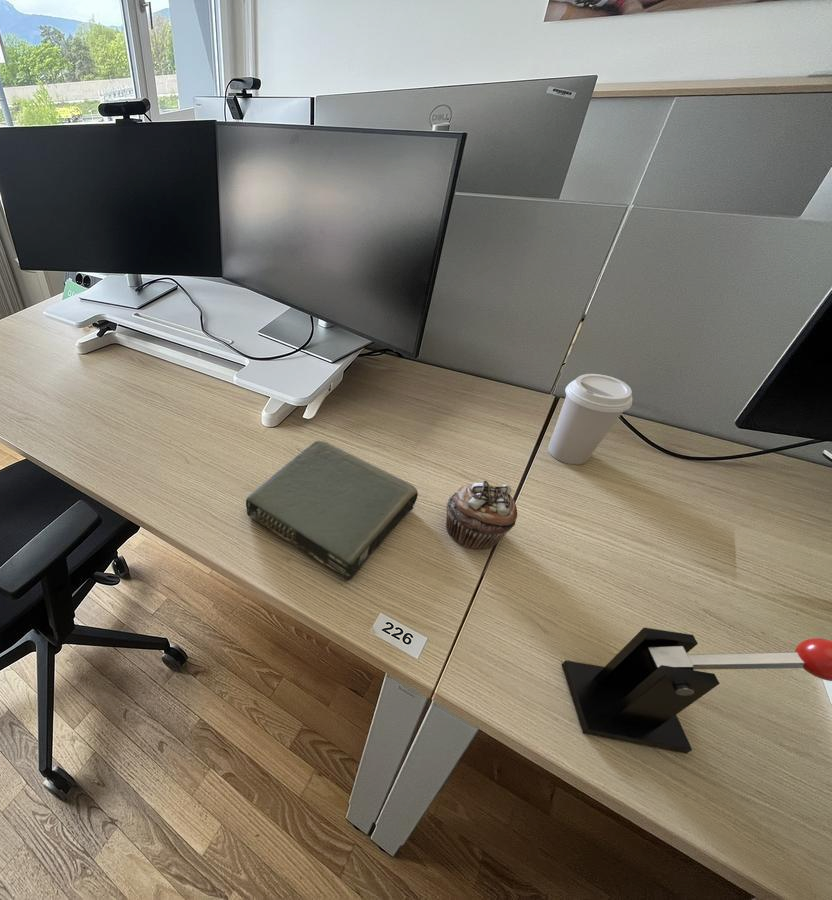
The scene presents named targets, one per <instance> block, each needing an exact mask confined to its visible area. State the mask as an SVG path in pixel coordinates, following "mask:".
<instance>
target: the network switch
mask: <svg viewBox="0 0 832 900" xmlns="http://www.w3.org/2000/svg"><path fill="white" fill-rule="evenodd" d="M418 495H419V494H418V490H417V488H416V487H415V486H414V484H412V483H410V482H408V481H406V480H404V479H402V478H400V477H398V476H396V475H394V474H392V473H390V472H388V471H386V470H384V469H382V468H380V467H378V466H376V465H375V464H373V463H370V462H368V461H366V460H364V459H362V458H361V457H358V456H356V455H354V454H353V453H350V452H347V451H345V450H344V449H341V448H340V447H337V446H335V445H334V444H331V443H330V442H327V441H325V440H316V441H314V442H313V443H311V444H310V445H309V446H308V447H306V448H304V449H303V450H302V451H301V452H300V453H298V455H296V456H294V458H293V459H291V460H290V461H288V462H287V463H286V464H285V465H283V466H282V467H281V468H280V469H279V470H278V471H276V472H275V473H274V474H273V475H272V476H270V477H269V478H268V479H267V480H266V481H264V482H263V483H262V484H261V485H260V486H259V487H257V488H256V489H255V490H254V491H253V492H252V493H250V494H249V495H248V496H247V497H246V499H245V507H246V515H247V516H248V517H249V518H252V519H253V520H254V521H256V522H257V523H259V524H260V525H261V526H264V527H265V528H267V529H269V530H270V531H271V532H273V533H274V534H276V535H277V536H279V537H280V538H281V539H283V540H285V541H287V542H289V544H293V545H294V546H295V547H297V548H298V549H299V550H301V551H303V553H306V554H307V555H308V556H309V557H311V558H313V559H315V560H316V561H318V562H319V563H321V565H324V566H326V567H328V568H329V569H331V570H332V571H334V572H336V574H337V573H338V574H339V575H341V576H342V577H344V579H345V581H349V580H351V579H352V578H353V577H354V576H355V575H356V574H357V573H358V571H359V570H360V569H361V568H362V566H363V565H364V563H366V561H367V560H368V559H369V557H370V556H371V555H372V553H374V551H375V550H376V549H377V548H378V547H379V546H380V545H381V544H382V543H383V541H384V540H385V539H386V537H388V535H389V534H390V533H391V532H392V531H393V530H394V529H395V528H396V526H398V524H399V523H400V522H401V521H402V520H403V518H404V517H406V515H407V514H408V512H411V511H413V510H414V505H415V504H416V502H417V499H418Z"/></svg>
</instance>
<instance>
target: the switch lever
mask: <svg viewBox="0 0 832 900" xmlns="http://www.w3.org/2000/svg"><path fill="white" fill-rule="evenodd" d="M648 656H649V661H650V663H651V665H652V667H653V669H654V671H655V670H656V669H657V668H659V667H660V666H661V665H665V666H671V667H677V668H683V669H689V670H695V671H701V670H766V669H767V670H768V669H769V670H772V669H776V670H779V669H803V670H805V672H807V673H808V674H810V675H812V676H813V677H815V678H818V679H820V680H824V681H828V682H832V640H830V639H826V638H820V637H819V638H818V637H817V638H807V639H805V640H803V641H801V642H799V643H798V645H796V647H795V649H794V651H786V652H785V651H784V652H783V651H782V652H745V653H744V652H743V653H741V652H740V653H739V652H738V653H705V654H704V653H703V654H702V653H701V654H700V653H699V654H688V653H686V651H685V649H684V647H683V646H664V647H648Z"/></svg>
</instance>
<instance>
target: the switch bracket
mask: <svg viewBox="0 0 832 900" xmlns="http://www.w3.org/2000/svg"><path fill="white" fill-rule="evenodd" d="M698 644H699V643H698V641H697V639H696V638H695V635H694V634H690V633H683V632H678V631H677V632H676V631H671V630H664V629H658V628H657V629H656V628H651V627H643V628H641V630H640V631H638V633H636V634H635V636H634V637H632V639H631V640H629V642H628V643H627V644H626V645H625V646H624V647H623V648H622V649H621V650H619V652H618V653H617V654H616V655H615V656H614V657H613V658H612V659H610V660H609V662H608V663H607V664H606V665H605V666H602V665H597V664H589V663H585V662H578V661H572V660H564V661H563V662H562V663H561V667H562V670H563V674H564V677H565V680H566V684H567V687H568V689H569V693H570V696H571V700H572V703H573V706H574V710H575V712H576V716H577V719H578V722H579V725H580V728H581V732H582V734H585V735H590V736H594V737H599V738H605V739H609V740H616V741H620V742H625V743H630V744H635V745H641V746H645V747H650V748H656V749H661V750H664V751H665V750H666V751H671V752H676V753H681V754H689V753H691V752H692V751H693V748H692V746H691V743H690V742H689V739H688V737H687V735H686V733H685V730H684V728H683V726H682V724H681V722H680V720H679V717H678V714H680V713H681V712H683V710H685V709H686V708H688V707H690V706H691V705H692V704H694V703H695V702H696V701H698V700H699V699H700V698H702V697H703V696H705V695H706V694H708V693H709V692H710V691H712V690H714V689H715V688H716V687H717V686H719V685H720V682H719V679H718V678H717V676H716V674H715V673H713V672H707V671H701V670H689V669H683V668H677V667H671V666H665V665H661V666H660V667H659V668H657V669H656V670H655V671H654V669H653V667H652V665H651V663H650V661H649V656H648V647H664V646H683V647H684V649H685V651H686V653H687V654H688V653H689V652H690V651H692V650H693V649H694V648H696V646H697V645H698Z"/></svg>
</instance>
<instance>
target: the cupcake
mask: <svg viewBox="0 0 832 900" xmlns="http://www.w3.org/2000/svg"><path fill="white" fill-rule="evenodd" d="M456 491H457V492H453V494H452V493H451V496H449V498H448V499H447V502H446V517H445V518H446V519H445V528H446V531H447V533H448V534H447V535H448V536H449V537H450V538H451V539H452V540H453V541H454V542H456V543H458V545H461V546H463V547H464V548H470V549H475V550H480V551H481V550H487V549H491V548H493V547H494V546H496V545H497V544H498V543H499V542H500V541H501V540H502V539H504V537H505V535H507V534H508V533H509V532H510V531H511V530H512V529H513V528H514V527H515V526H516V522H517V518H518V509H517V504H516V502H515V500H514V498H513V497H512V495H511V493H512V487H511V486H510V485H509V484H503V485H501V486H497V485H493V484H490V483H489V481H486V480H483V481H482V482H474V483H472V484H466V485H463V486H460V488H458V490H456Z"/></svg>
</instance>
